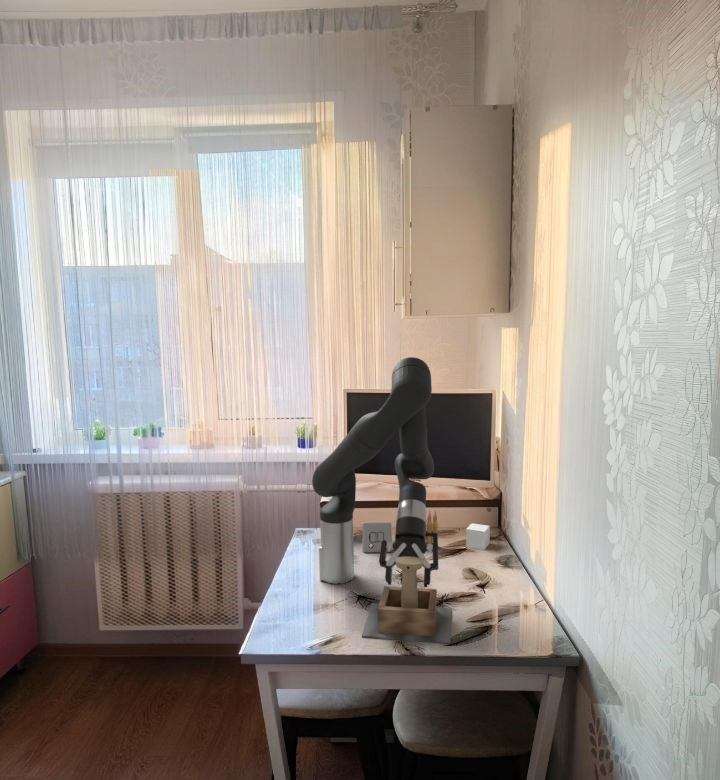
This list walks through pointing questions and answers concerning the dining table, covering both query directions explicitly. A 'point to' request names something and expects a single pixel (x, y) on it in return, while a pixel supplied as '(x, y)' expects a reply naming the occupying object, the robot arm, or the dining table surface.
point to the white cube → (478, 536)
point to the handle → (409, 580)
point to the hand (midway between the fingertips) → (407, 584)
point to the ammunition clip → (432, 529)
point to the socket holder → (408, 618)
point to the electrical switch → (376, 535)
